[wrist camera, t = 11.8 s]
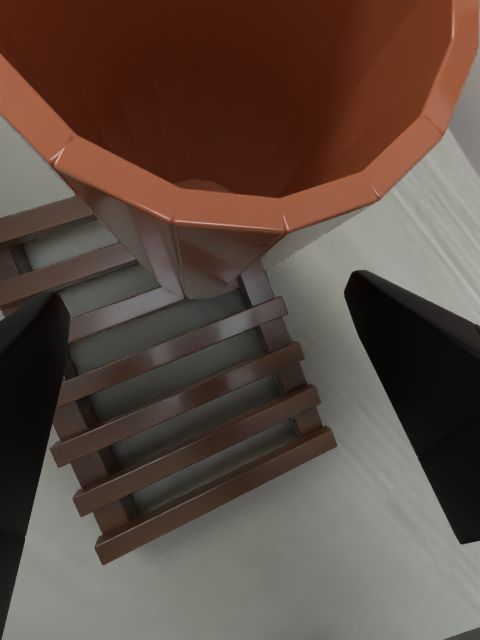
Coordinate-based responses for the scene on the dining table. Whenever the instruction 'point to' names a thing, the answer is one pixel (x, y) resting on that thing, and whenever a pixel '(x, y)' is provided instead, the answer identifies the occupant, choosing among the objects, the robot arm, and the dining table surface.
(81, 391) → the drying rack
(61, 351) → the robot arm
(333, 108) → the tumbler
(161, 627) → the dining table surface
